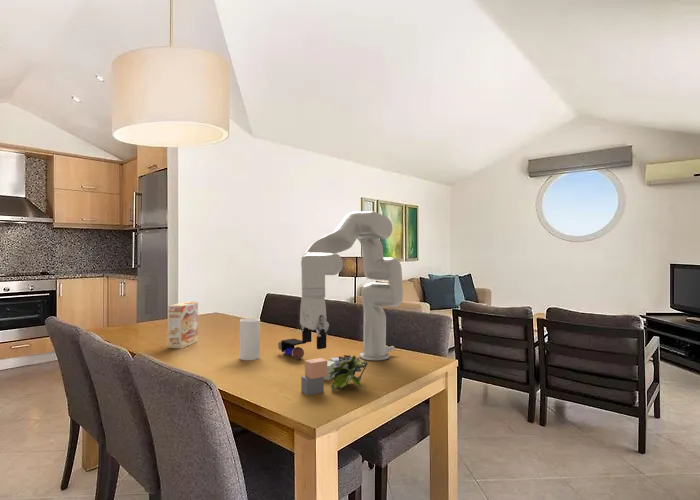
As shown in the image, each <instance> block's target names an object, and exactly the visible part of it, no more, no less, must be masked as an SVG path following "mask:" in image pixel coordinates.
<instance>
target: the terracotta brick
mask: <svg viewBox="0 0 700 500" xmlns="http://www.w3.org/2000/svg"><path fill="white" fill-rule="evenodd" d="M327 361H328V359H325V358H322V357H319V358H313V359H312V358H311V359H307V360H304V376H306V377H308V378H310V379H314V378H319V377H325V376H327Z"/></svg>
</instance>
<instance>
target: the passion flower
mask: <svg viewBox="0 0 700 500" xmlns="http://www.w3.org/2000/svg"><path fill="white" fill-rule="evenodd" d="M338 357H339V361H340V362H338V364H336V366H334V367H333V371H331V372H329V374H331V375H330V378H331V377H332V376H333V375H335V376H334V377H333V378H331V379H333V382H331V386H330V387H331V391H334V390H336V389H338V388H339V389H342V388H344V387H345V386H347V385H348V384H349V383H350V382H351V381H352V382H353V383H354V384H355V385H356V386H357V388H356V389H357V390H356V391H359V387H361V379H362V376H363V374H364V371H365V370H366V368H367V366H368V360H365V359H362V361H361V360H360V357H357V356H356V355H352V356H351V355H350V354H349V355H347V354H344V355H343V356H338ZM341 359H342V360H341ZM362 368H363V369H362ZM356 372H357V373H360V375H359V376H355V375H356Z"/></svg>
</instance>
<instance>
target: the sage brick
mask: <svg viewBox="0 0 700 500" xmlns="http://www.w3.org/2000/svg"><path fill="white" fill-rule="evenodd" d="M334 366H336V362H332V361H330V360H327V376H325V377H324V381H330V380H331V379H333V378H334V376H335V375H333V376H332V377H331V378H330V375H331V374H329V372H331V371H333V367H334Z"/></svg>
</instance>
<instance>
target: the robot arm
mask: <svg viewBox="0 0 700 500" xmlns="http://www.w3.org/2000/svg"><path fill="white" fill-rule="evenodd" d="M392 233H393V224H392V221H391V220H390V219H389V218H388V217H387V216H385V215H383V214H381V213H379V212H376V211H373V210H371V211H365V210H364V211H351V212H349V213H346V215H344V216H343V218H342V220H341V221H340V222H339V223H338V225H337V227H336V228H335V229H334V230H333V232H331V233H329V234H326V235H325V236H323V237H320V238H319V239H317V240H316V241H314V242H313V243H311V245H310V246H309V247H308V248H307V249H306V251H305V252H304V254H303V256H302V257H301V261H300V264H301V265H300V267H301V301H300V308H299V309H300V310H299V324H300V326H301V338H302V340H301V341H302V342H303V343H305V344H306V343H312V331H316V334H317V336H316V349H317V350H323V349H326V348H327V336H328V333H329V327H330V323H329V322H328V321H327V305H326V300H325V299H326V276H336V275H338V274H339V273H340V272H341V271H342V270H343V268H344V260H343V258H342V257H341V256H340V255H339V254H338V253H341V252H345V251H347V250H349V249H351V248H352V247H353V245H354V244H355V242H356V241H358V242H359V243H360V246H361V249H362V261H363V273H364V277H365V278H366V279H368V280H373V281H387V282H388V283H387V282H368V283H366V284H364V285H363V286H362V289H361V300H362V308H363V340H362V341H363V345H362V346H363V347H362V349H363V351H362V352H360V353H359V359H360V358H361V359H362V360H365V361H377V362H378V361H386V360H387V359H389V358H390V353H389V352H393V351H395V350H396V349H395V346H394V345H391V346H388V345H387V316H386V315H387V314H386V312H385V310H384V308H383V307H400V306H401V304H402V302H403V297H404V296H403V295H404V294H403V293H404V291H403V269H402V264H401V262H400V260H398V259H397V258H394V257H384V247H383V244H382V241H381V240H382V239H383V240H385V239H388V238H390V237H391V235H392Z"/></svg>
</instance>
